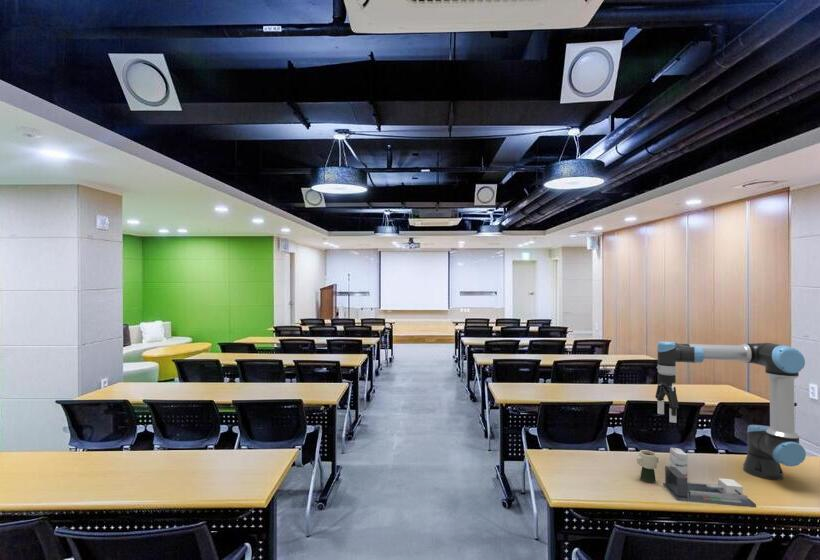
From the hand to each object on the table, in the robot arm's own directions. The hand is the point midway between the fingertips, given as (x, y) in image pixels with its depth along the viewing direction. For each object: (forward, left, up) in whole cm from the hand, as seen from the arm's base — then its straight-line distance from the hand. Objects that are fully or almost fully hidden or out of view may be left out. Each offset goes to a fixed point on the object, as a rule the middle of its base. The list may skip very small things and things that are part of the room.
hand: (666, 418), depth 203 cm
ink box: (-6, -2, -28) cm, 29 cm away
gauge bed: (-9, +18, -28) cm, 34 cm away
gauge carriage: (-15, +19, -26) cm, 36 cm away
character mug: (+11, +7, -28) cm, 31 cm away
